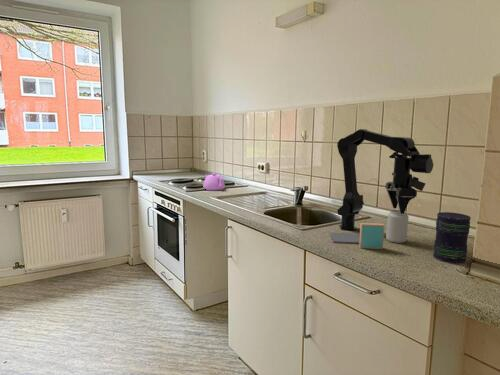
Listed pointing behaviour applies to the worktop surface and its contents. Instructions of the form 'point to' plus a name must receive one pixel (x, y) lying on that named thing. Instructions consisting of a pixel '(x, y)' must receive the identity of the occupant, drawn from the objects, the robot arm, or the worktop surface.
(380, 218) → the worktop surface
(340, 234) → the mat
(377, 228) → the tile
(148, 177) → the worktop surface
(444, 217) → the storage jar
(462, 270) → the worktop surface
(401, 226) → the can
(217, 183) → the teapot
